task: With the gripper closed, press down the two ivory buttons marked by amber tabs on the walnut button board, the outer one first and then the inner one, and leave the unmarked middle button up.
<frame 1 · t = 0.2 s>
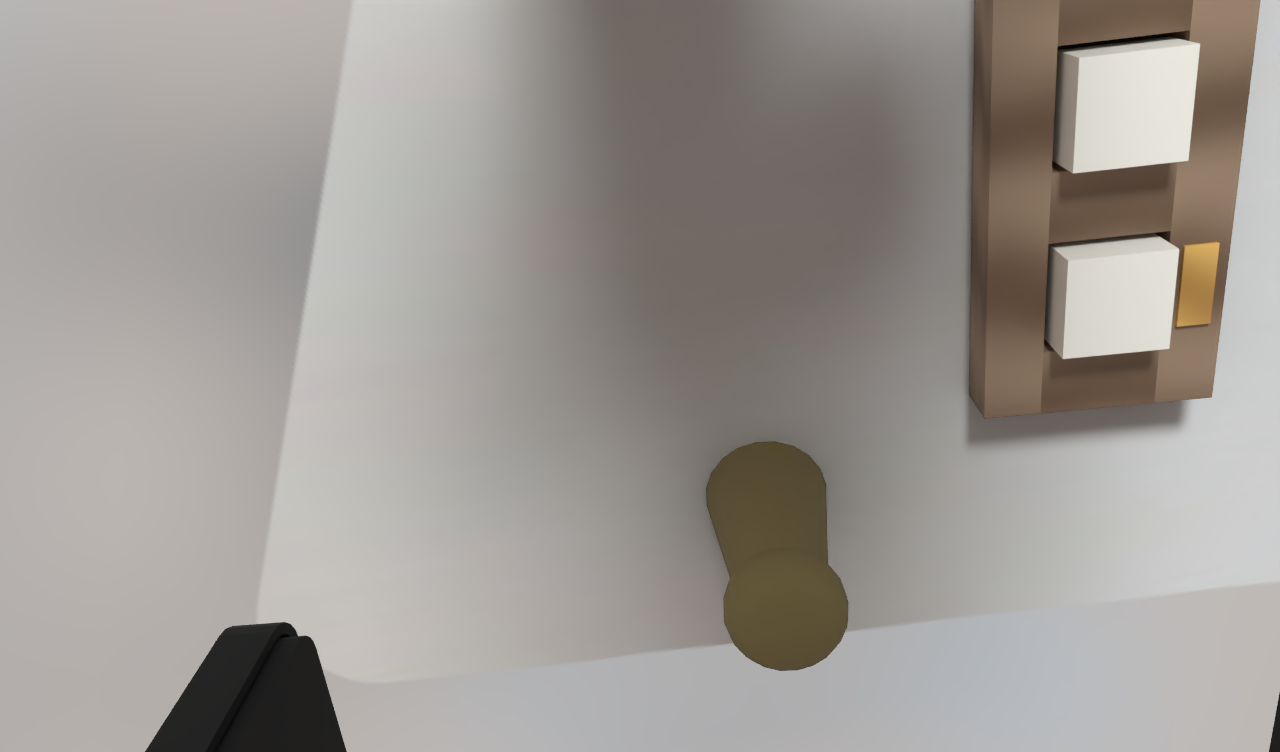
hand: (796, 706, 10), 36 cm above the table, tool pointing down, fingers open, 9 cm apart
button board: (1094, 94, 42), on the table
middle button: (1121, 104, 40), point 3 cm above the table, slide at 0.0 cm
outer button: (1107, 295, 43), point 3 cm above the table, slide at 0.0 cm
cork: (765, 492, 51), on the table
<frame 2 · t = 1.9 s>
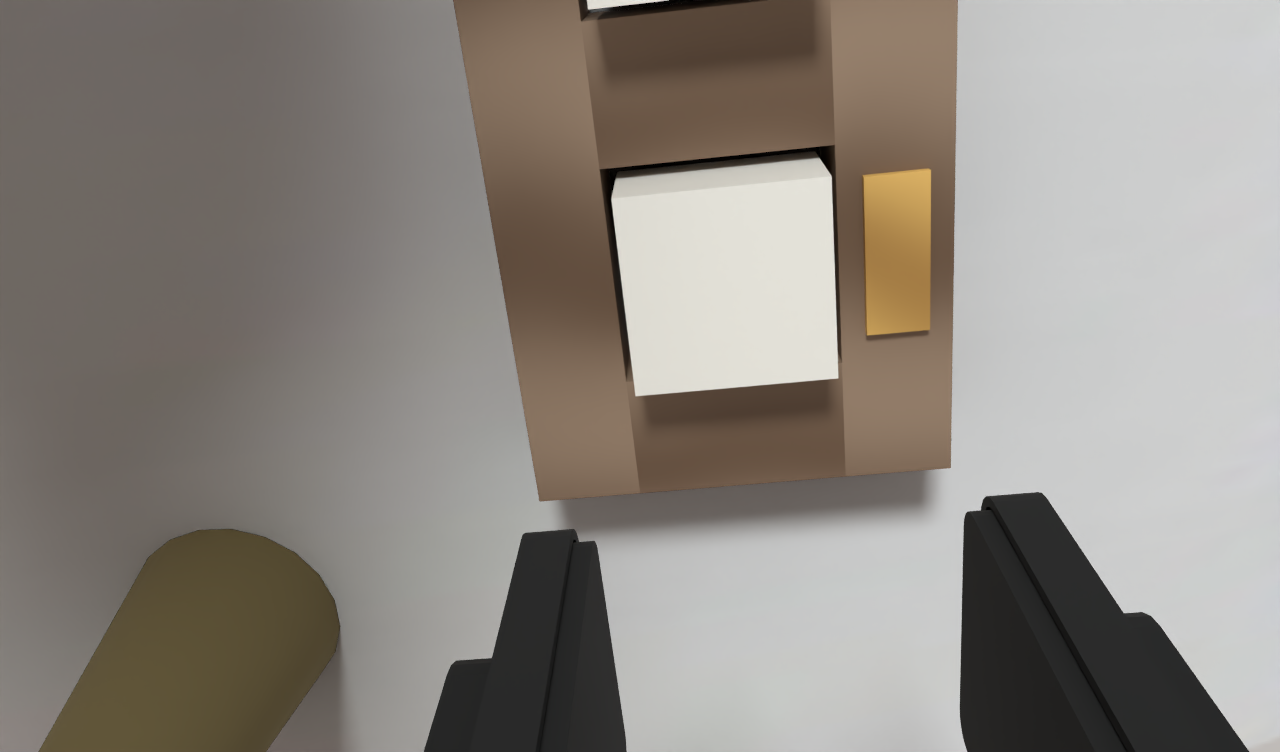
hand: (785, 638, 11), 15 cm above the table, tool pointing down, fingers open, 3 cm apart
outer button: (725, 273, 22), point 3 cm above the table, slide at 0.0 cm
cork: (240, 612, 30), on the table
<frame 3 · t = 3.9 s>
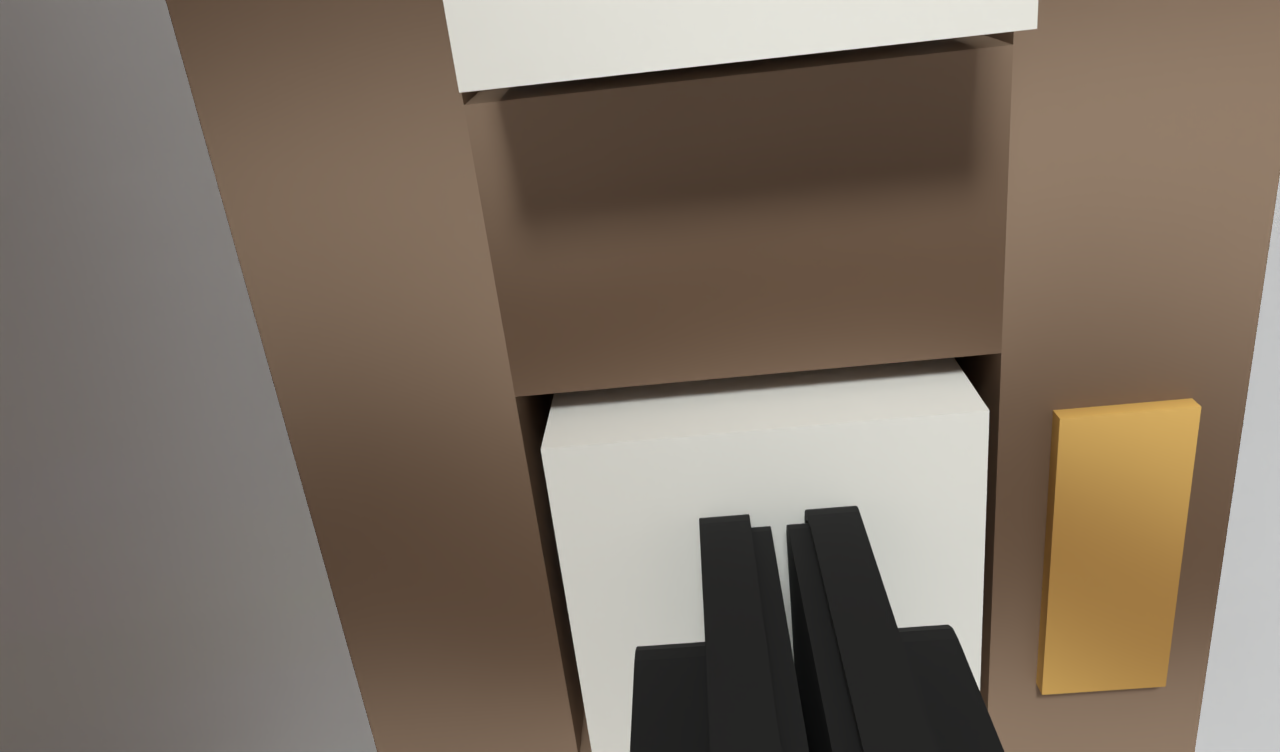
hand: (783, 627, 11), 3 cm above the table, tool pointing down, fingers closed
outer button: (763, 547, 12), point 2 cm above the table, slide at 0.8 cm, touching gripper
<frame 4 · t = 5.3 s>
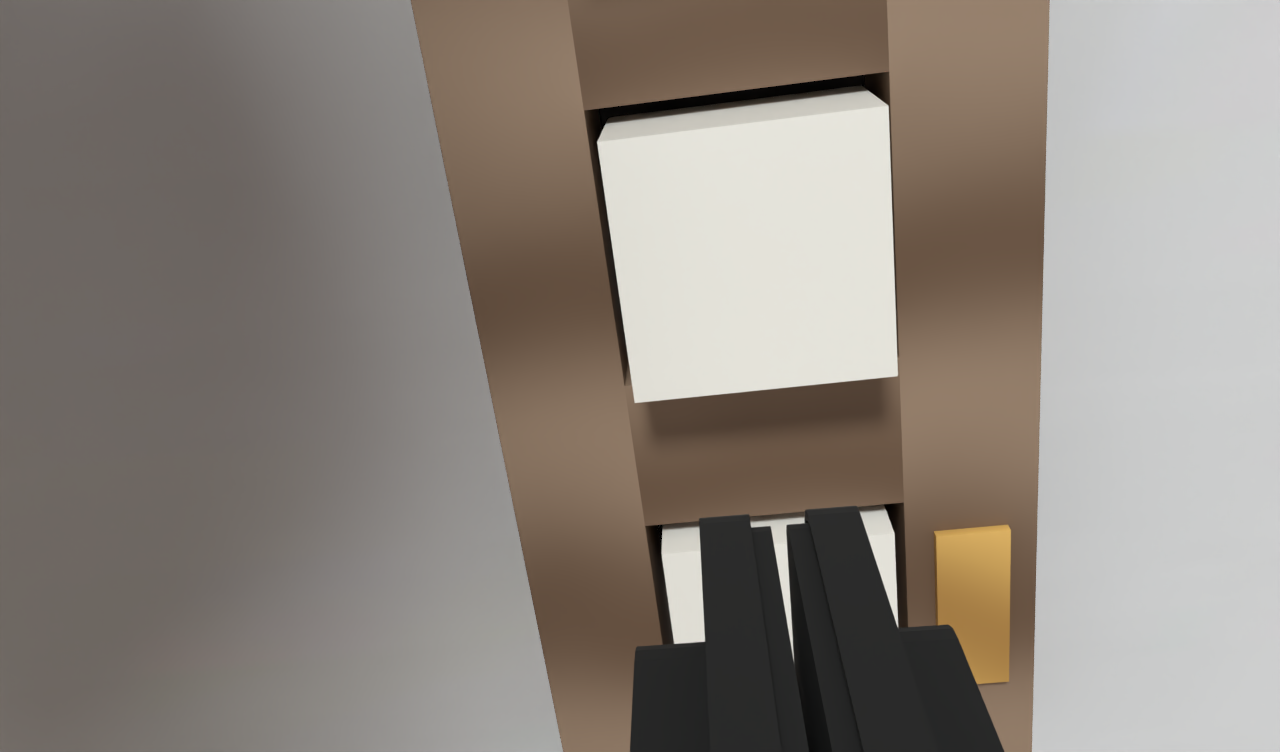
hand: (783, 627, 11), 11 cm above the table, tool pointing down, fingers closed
button board: (740, 205, 20), on the table
middle button: (748, 243, 17), point 3 cm above the table, slide at 0.0 cm
outer button: (779, 601, 21), point 2 cm above the table, slide at 0.9 cm
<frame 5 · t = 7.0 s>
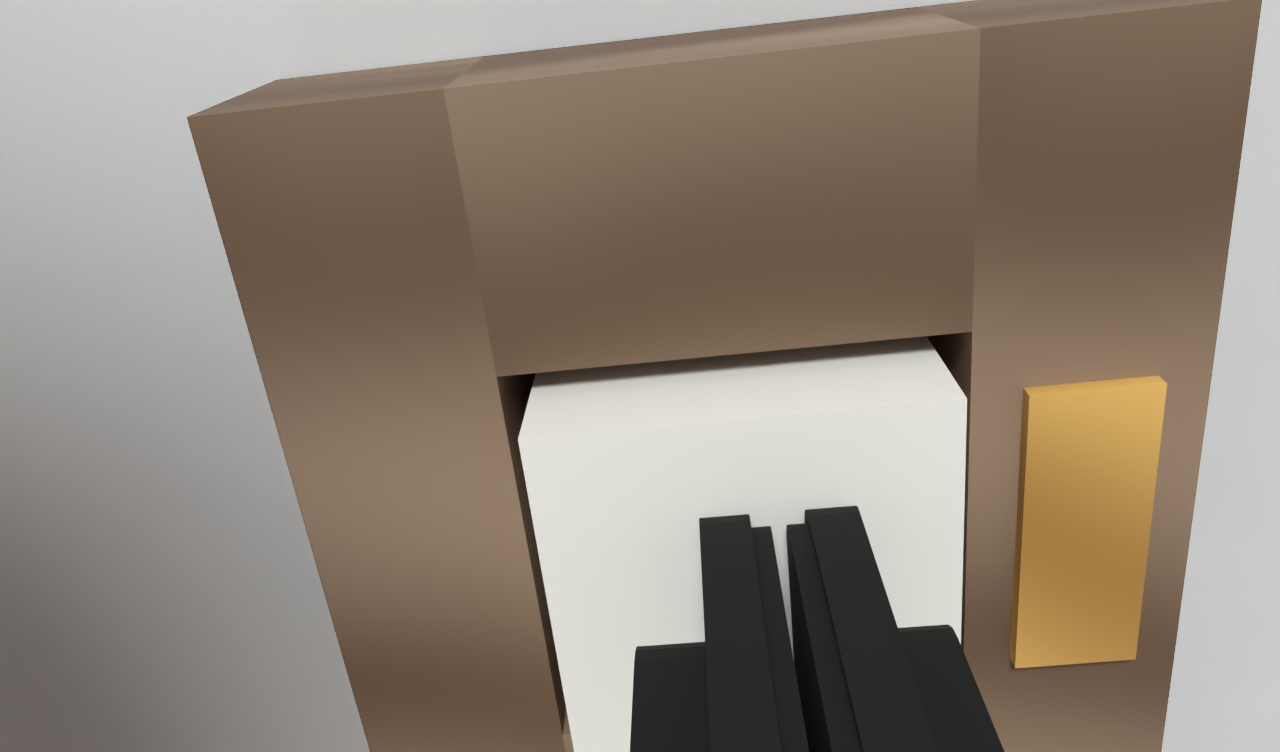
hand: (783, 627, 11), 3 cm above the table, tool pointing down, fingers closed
inner button: (744, 537, 12), point 2 cm above the table, slide at 0.6 cm, touching gripper
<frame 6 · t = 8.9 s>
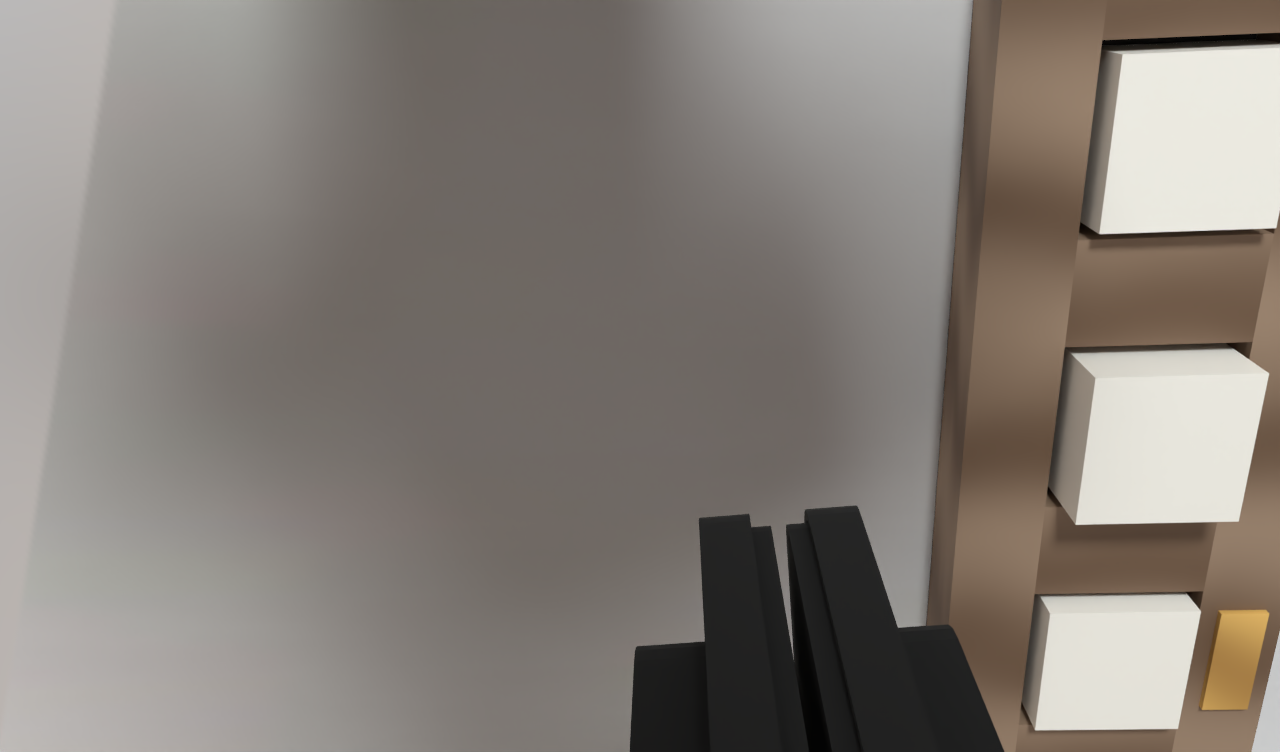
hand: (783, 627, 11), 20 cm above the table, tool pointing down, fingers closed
inner button: (1178, 135, 26), point 2 cm above the table, slide at 0.9 cm
button board: (1109, 392, 31), on the table
middle button: (1148, 431, 28), point 3 cm above the table, slide at 0.0 cm
outer button: (1099, 647, 32), point 2 cm above the table, slide at 0.9 cm
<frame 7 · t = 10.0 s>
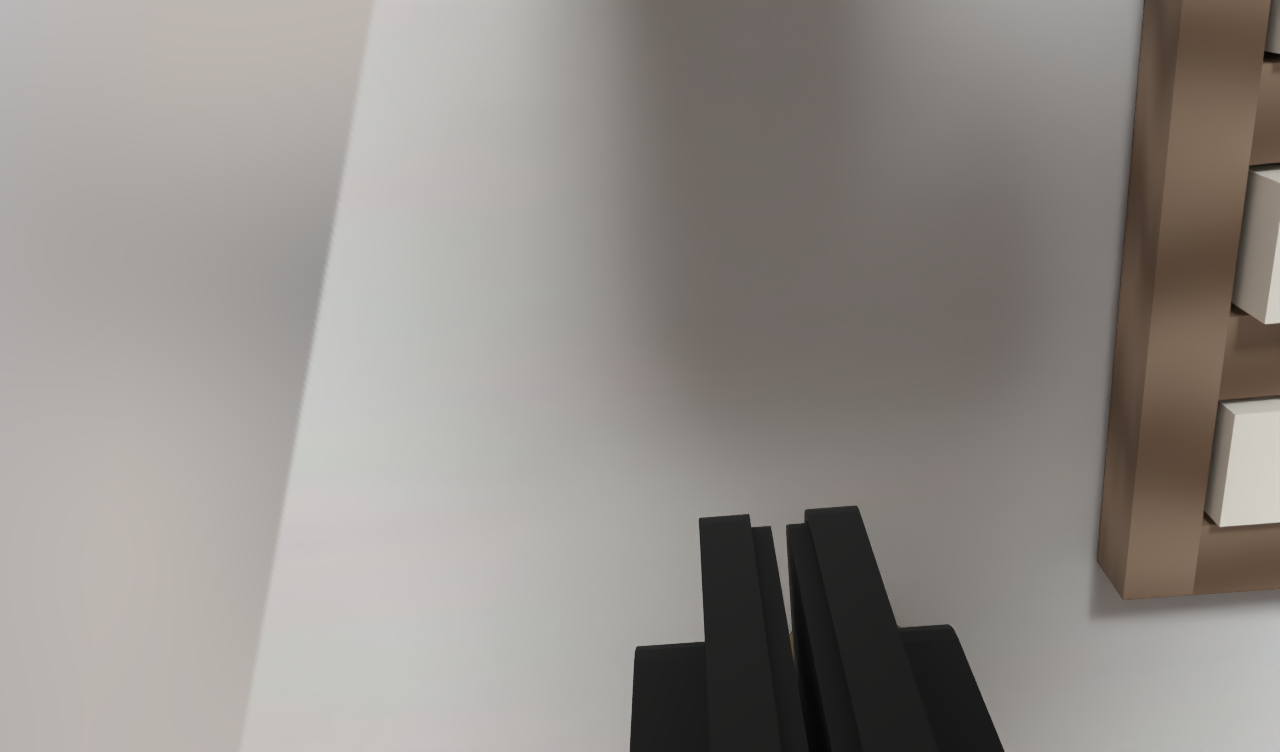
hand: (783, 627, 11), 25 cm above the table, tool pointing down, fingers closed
button board: (1277, 215, 34), on the table
outer button: (1273, 449, 36), point 2 cm above the table, slide at 0.9 cm
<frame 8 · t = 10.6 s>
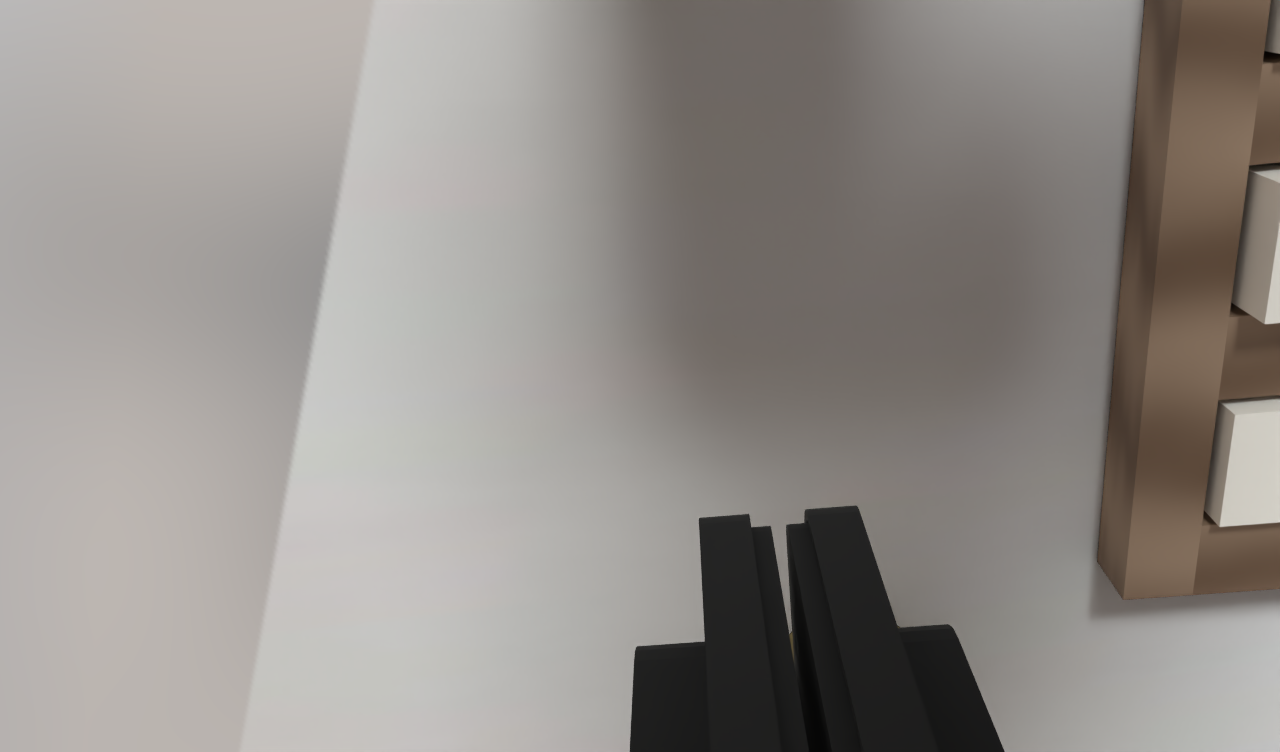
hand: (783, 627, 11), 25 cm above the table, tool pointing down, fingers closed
button board: (1277, 215, 34), on the table
outer button: (1273, 449, 36), point 2 cm above the table, slide at 0.9 cm
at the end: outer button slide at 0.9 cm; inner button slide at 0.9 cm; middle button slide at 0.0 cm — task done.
